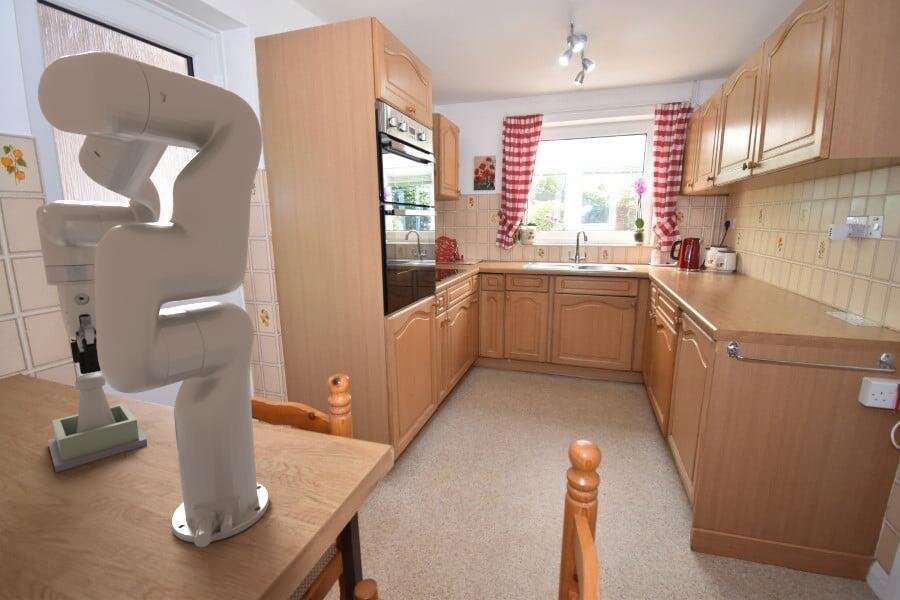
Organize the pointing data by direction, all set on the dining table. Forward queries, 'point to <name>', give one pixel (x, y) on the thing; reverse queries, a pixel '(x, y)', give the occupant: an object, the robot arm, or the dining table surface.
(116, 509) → the dining table surface
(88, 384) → the salt shaker
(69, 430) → the socket plate
